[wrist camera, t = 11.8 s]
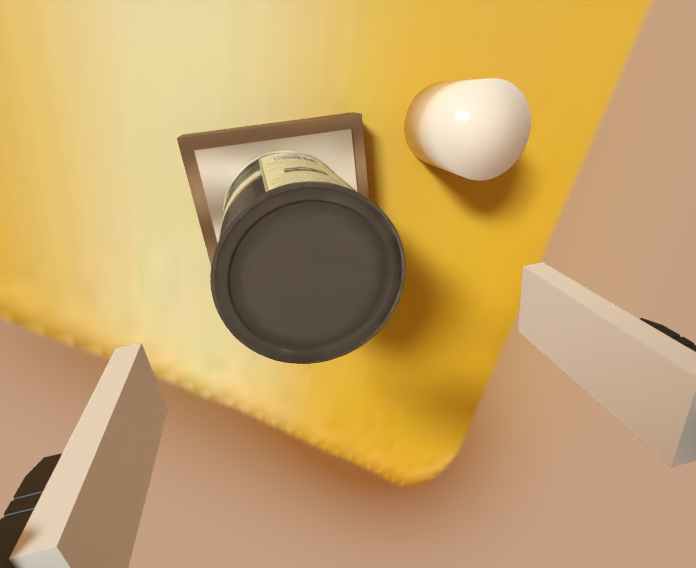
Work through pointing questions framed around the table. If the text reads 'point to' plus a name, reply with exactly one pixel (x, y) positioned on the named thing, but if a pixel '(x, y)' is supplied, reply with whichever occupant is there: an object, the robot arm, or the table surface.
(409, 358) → the table surface
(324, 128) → the picture frame
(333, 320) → the coffee can
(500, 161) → the cream egg shape
